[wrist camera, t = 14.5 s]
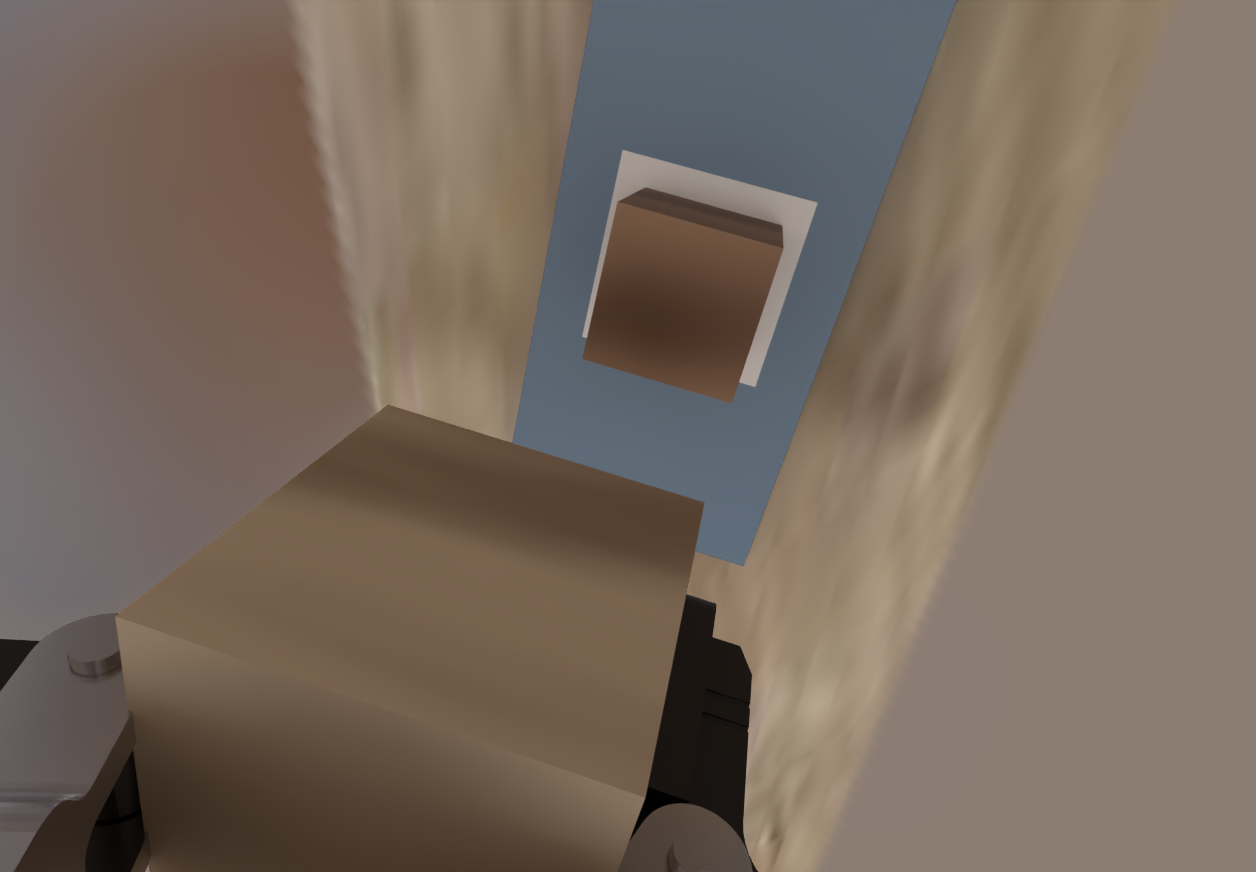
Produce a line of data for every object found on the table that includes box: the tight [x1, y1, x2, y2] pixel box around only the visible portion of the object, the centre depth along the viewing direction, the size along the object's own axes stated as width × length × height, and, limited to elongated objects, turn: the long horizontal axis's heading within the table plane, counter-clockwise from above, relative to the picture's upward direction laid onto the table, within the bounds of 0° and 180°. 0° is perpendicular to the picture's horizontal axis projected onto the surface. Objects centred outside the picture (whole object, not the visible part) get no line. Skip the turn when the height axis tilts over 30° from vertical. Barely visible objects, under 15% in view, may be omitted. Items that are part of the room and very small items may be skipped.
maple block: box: [115, 405, 705, 872], centre depth 10 cm, size 5×5×5 cm
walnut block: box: [582, 187, 784, 404], centre depth 24 cm, size 5×5×5 cm
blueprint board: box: [512, 0, 957, 566], centre depth 27 cm, size 23×11×1 cm, turn 167°
